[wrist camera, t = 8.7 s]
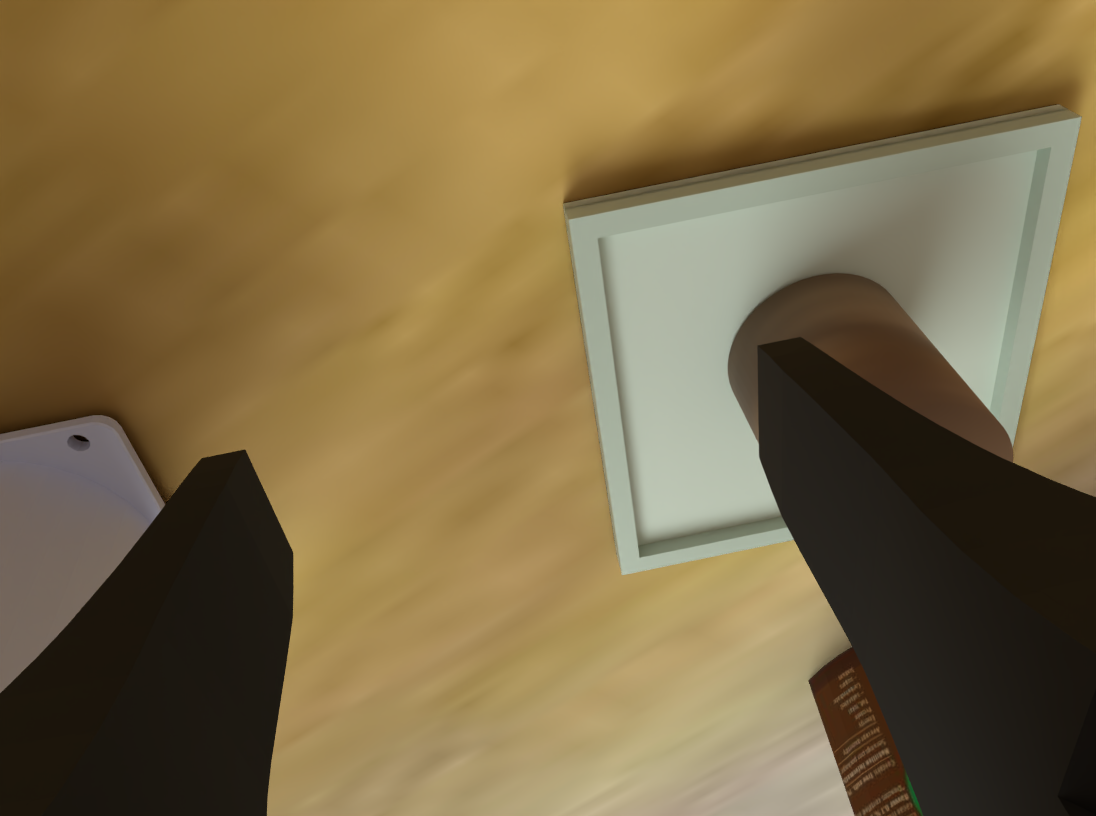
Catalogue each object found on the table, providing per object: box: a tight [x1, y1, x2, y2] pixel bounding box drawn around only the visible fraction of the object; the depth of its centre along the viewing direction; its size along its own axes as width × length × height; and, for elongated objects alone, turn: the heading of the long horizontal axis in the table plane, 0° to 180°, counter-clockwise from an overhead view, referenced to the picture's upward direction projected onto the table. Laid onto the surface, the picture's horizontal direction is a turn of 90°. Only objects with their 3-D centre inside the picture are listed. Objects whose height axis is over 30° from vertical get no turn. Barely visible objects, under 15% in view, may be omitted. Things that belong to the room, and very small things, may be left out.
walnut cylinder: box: [728, 273, 1013, 463], centre depth 22 cm, size 5×5×6 cm
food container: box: [809, 647, 923, 816], centre depth 30 cm, size 12×6×10 cm, turn 64°
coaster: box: [563, 104, 1082, 575], centre depth 25 cm, size 12×12×1 cm
